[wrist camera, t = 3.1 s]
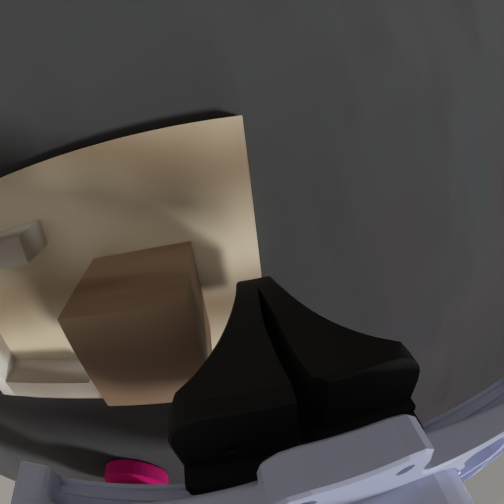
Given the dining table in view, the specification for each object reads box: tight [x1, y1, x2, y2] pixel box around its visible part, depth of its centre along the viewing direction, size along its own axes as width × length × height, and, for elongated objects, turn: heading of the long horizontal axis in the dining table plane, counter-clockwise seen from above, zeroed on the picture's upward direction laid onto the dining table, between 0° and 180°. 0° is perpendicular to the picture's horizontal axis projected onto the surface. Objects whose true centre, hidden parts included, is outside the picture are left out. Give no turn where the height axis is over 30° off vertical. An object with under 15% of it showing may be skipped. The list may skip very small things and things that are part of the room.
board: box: [0, 115, 262, 398], centre depth 13 cm, size 14×17×3 cm
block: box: [57, 241, 212, 406], centre depth 12 cm, size 4×4×4 cm
